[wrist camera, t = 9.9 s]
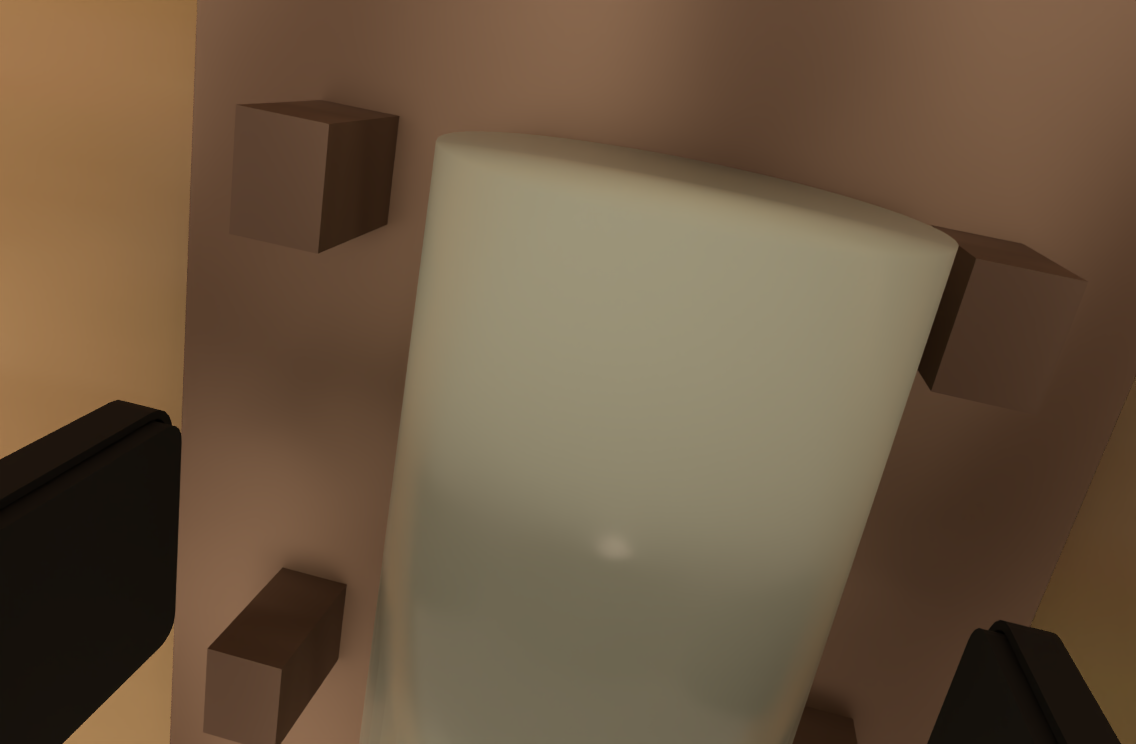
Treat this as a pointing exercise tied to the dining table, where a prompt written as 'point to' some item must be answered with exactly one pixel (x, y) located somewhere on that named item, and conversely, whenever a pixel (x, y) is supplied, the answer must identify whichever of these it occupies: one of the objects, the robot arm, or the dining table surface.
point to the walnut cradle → (679, 128)
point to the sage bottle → (635, 444)
